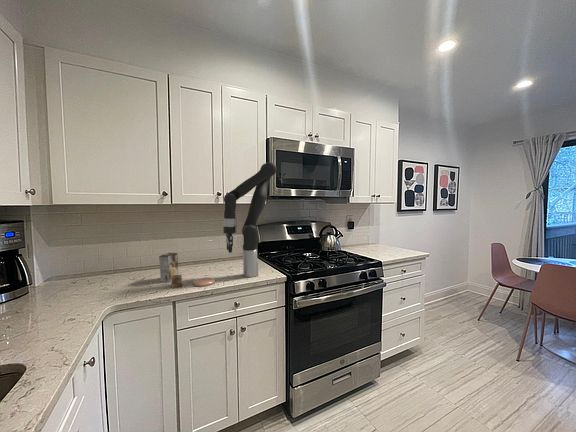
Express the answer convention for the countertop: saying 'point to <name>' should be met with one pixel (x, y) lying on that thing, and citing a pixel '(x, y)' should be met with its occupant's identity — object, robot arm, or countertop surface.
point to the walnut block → (176, 281)
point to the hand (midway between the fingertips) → (229, 251)
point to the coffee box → (168, 266)
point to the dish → (204, 282)
